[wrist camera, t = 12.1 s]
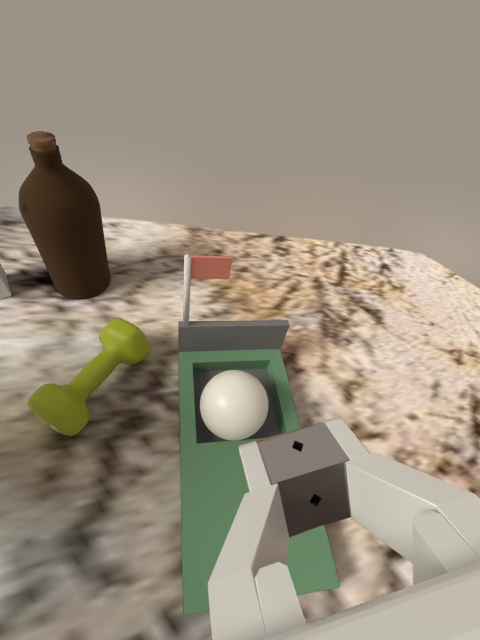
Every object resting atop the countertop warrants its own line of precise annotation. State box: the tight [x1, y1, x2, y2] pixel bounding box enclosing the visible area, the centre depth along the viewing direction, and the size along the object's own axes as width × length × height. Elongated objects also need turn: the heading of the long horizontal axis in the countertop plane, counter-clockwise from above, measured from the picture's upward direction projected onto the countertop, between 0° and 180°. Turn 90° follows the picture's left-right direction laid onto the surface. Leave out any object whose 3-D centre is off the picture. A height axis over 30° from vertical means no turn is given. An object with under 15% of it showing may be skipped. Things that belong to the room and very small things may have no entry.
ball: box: [200, 370, 269, 441], centre depth 44 cm, size 9×9×9 cm
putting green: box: [178, 254, 340, 615], centre depth 37 cm, size 31×16×21 cm, turn 8°
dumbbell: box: [28, 318, 151, 436], centre depth 45 cm, size 16×8×7 cm, turn 153°
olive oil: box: [19, 131, 110, 299], centre depth 51 cm, size 11×11×25 cm
